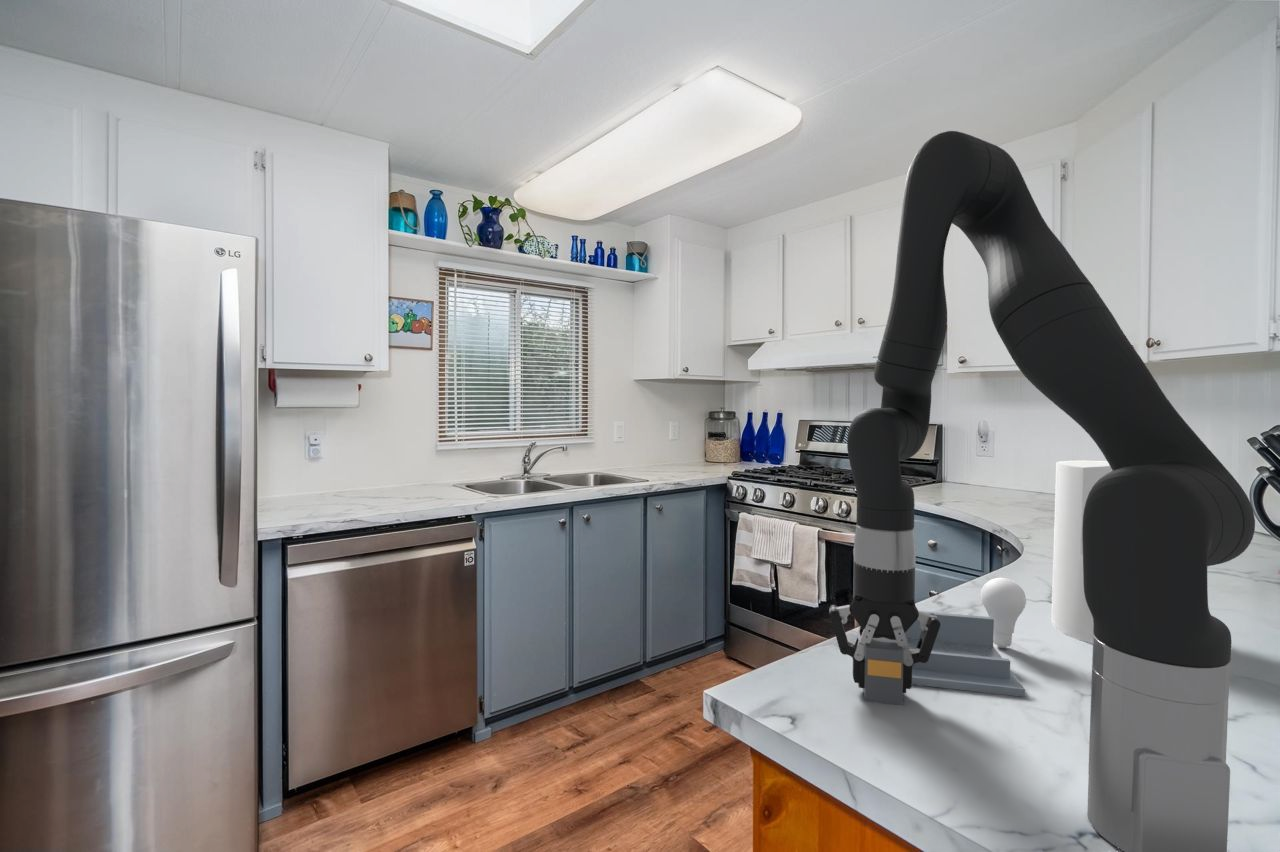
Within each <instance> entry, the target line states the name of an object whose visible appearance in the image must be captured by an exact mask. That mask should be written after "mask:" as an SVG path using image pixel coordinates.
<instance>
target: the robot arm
mask: <svg viewBox="0 0 1280 852" xmlns="http://www.w3.org/2000/svg"><path fill="white" fill-rule="evenodd" d="M906 173H907V174H906V178H905V183H904V188H903V194H902V195H903V196H902V203H901V213H900V226H899V232H898V241H897V252H896V261H895V262H896V263H895V264H896V265H895V273H894V274H895V275H894V280H893V281H894V283H893V287H892V288H893V290H892V296H891V302H890V306H889V307H890V308H889V312H888V317H887V321H886V325H885V328H884V331H883V337H882V340H881V343H880V346H879V347H880V348H879V352H878V354H877V360H876V362H875V367H874V373H873V375H874V380H875V382H876V383H877V384H878V385H879V386H881V387H882V395H881V405H880V407H872V408H867V409H865V410H862V411H860V412H859V413H858V414H856V416H855V417H854V418H853V420H852V421H851V423H850V424H849V425H850V426H849V428H848V432H847V436H846V437H847V440H846V444H847V445H846V449H847V455H848V460H849V461H848V462H849V465H850V471H851V473H852V478H853V484H854V486H855V490H856V495H857V496H856V520H855V521H856V526H855V533H854V541H853V549H852V554H853V583H852V586H853V588H852V597H851V599H850V601H849V603H848V604H846V605H841V606H838V605H836V604H831V605H830V606H829V607H828V608H829V609H828V611H829V616H830V620H831V623H832V627H833V631H834V635H835V639H836V642H837V644H838V649H839V651H840V653H841V654H842V655H845V656H849V657H851V659H852V679H853V681H854V683H855V684H858V688H859V689H863V688H864V670H865V661H864V656H865V645H870V642H871V640H872V638H882V637H884V638H887V639H890V640H896V641H897V644H898V647H899V648H903V651H904V656H903V694H907V689H908V690H911V688H912V685H913V684H912V666H913V665H914V664H915V663H918V662H922V663H926V662H928V660H929V657H930V654H931V651H932V648H933V645H934V643H935V640H936V637H937V634H938V631H939V628H940V625H941V624H940V622H939V620H938V618H937V617H936V615H935V614H933V613H930V614H926V613H923V612H920V610H919V609H918V607H917V606H916V601H915V596H916V552H917V551H916V546H917V545H916V537H915V494H914V489H913V488H912V486H911V485H910V484H908V483H907V482H904V481H903V478H902V471H901V464H900V461H905V460H908V459H911V458H912V457H914V456H915V455H917V453H918V452H919V451H920V450H921V448H922V447H923V445H924V443H925V441H926V439H927V435H928V431H929V426H930V420H931V407H932V406H931V405H932V383H933V380H934V377H935V374H936V370H937V368H938V364H939V361H940V358H941V355H942V350H943V347H944V343H945V339H946V335H947V327H948V305H947V298H946V297H947V295H946V288H945V278H944V277H945V276H944V275H945V274H944V269H945V268H944V264H945V263H944V261H945V259H944V257H945V251H946V244H947V241H948V235H949V234H950V233H949V232H950V229H951V226H952V225H954V226H956V227H957V228H959V230H961V231H962V233H963V234H964V235H965V236H966V237H967V239H968V240H969V241H970V242H971V244H972V246H973V247H974V249H975V250H976V252H977V253H978V254H979V256H980V258H981V260H982V262H983V263H984V266H985V269H986V273H987V281H988V282H987V284H988V286H987V287H988V290H987V291H988V293H987V295H988V296H987V297H988V309H989V315H990V317H991V321H992V324H993V326H994V328H995V330H996V332H997V334H998V336H999V338H1000V339H1001V341H1002V343H1003V345H1004V347H1005V348H1006V350H1007V352H1008V353H1009V355H1010V357H1011V358H1012V360H1013V362H1014V364H1015V365H1016V367H1017V368H1018V369H1019V371H1020V372H1021V373H1022V375H1023V376H1024V378H1026V379H1027V380H1028V381H1029V383H1031V384H1032V386H1034V387H1035V388H1036V389H1037V390H1038V391H1039V392H1040V393H1042V395H1043V396H1045V397H1046V398H1047V399H1048V400H1050V402H1051V403H1053V404H1054V405H1055V406H1057V407H1058V408H1059V409H1060V410H1061V411H1062V412H1064V413H1065V414H1066V415H1067V416H1069V417H1070V418H1071V419H1072V420H1074V421H1075V423H1077V425H1079V426H1080V427H1081V428H1082V429H1083V430H1084V431H1085V432H1086V434H1088V435H1089V437H1090V438H1091V439H1092V441H1094V443H1095V444H1096V445H1097V447H1098V448H1099V450H1100V452H1101V453H1102V454H1103V456H1104V459H1105V461H1107V462H1108V463H1109V465H1110V467H1111V469H1112V470H1113V471H1111V472H1109V473H1107V474H1106V475H1104V476H1103V477H1102V478H1100V479H1099V480H1098V481H1097V482H1096V483H1095V484H1094V486H1093V487H1092V489H1091V491H1090V492H1089V495H1088V497H1087V500H1086V503H1085V508H1084V514H1083V527H1082V542H1083V581H1084V594H1085V599H1086V602H1087V605H1088V607H1089V610H1090V612H1091V614H1092V617H1093V623H1094V627H1093V644H1092V659H1091V660H1092V661H1091V662H1092V664H1091V685H1090V713H1089V714H1090V716H1089V718H1090V719H1089V721H1090V722H1089V747H1088V750H1089V751H1088V770H1087V771H1088V784H1087V786H1088V787H1087V813H1086V814H1087V817H1088V820H1089V823H1090V824H1091V826H1092V827H1093V829H1094V830H1095V831H1096V832H1097V833H1098V834H1099V835H1100V836H1101V837H1102V838H1103V839H1105V840H1107V842H1109V843H1110V844H1111V845H1113V846H1114V847H1116V848H1118V849H1120V850H1121V851H1122V852H1227V851H1228V832H1229V813H1230V811H1229V810H1230V809H1229V807H1230V788H1231V787H1230V785H1231V784H1230V783H1231V767H1230V766H1229V765H1228V763H1227V743H1228V721H1229V720H1228V718H1229V717H1228V715H1229V696H1230V677H1231V673H1230V672H1231V660H1232V634H1231V630H1230V629H1229V627H1228V626H1227V625H1226V623H1224V622H1223V621H1222V620H1221V619H1219V618H1217V617H1216V616H1213V615H1212V614H1211V612H1210V608H1209V598H1208V597H1209V595H1208V591H1209V590H1208V567H1211V566H1216V565H1221V564H1225V563H1227V562H1229V561H1231V560H1234V559H1237V558H1238V557H1239V556H1241V555H1242V554H1243V553H1244V552H1246V550H1247V549H1248V548H1249V546H1250V544H1251V543H1252V540H1253V538H1254V535H1255V530H1256V529H1255V528H1256V519H1255V513H1254V508H1253V505H1252V503H1251V501H1250V498H1249V497H1248V495H1247V493H1246V492H1245V490H1244V489H1243V488H1242V486H1241V485H1240V484H1239V482H1238V481H1237V480H1236V478H1234V476H1233V474H1231V472H1229V470H1228V469H1227V468H1226V467H1225V465H1224V464H1222V462H1221V460H1219V459H1218V457H1216V455H1215V454H1214V453H1213V451H1211V450H1210V449H1209V448H1208V446H1207V445H1206V444H1205V443H1204V442H1203V441H1202V440H1201V438H1200V437H1199V436H1198V435H1197V434H1196V432H1195V431H1194V430H1193V429H1192V428H1191V427H1190V425H1189V424H1188V423H1187V422H1186V421H1185V420H1184V418H1183V417H1182V416H1181V415H1180V414H1179V412H1178V411H1177V410H1176V408H1175V407H1174V406H1173V404H1172V403H1171V401H1169V399H1168V397H1167V396H1166V395H1165V393H1164V391H1163V390H1162V389H1161V387H1160V385H1159V384H1158V383H1157V381H1156V379H1155V378H1154V376H1153V374H1152V372H1150V370H1149V368H1148V367H1147V365H1146V363H1145V362H1144V361H1143V359H1142V358H1141V356H1140V355H1139V353H1138V352H1137V350H1136V349H1135V347H1134V346H1133V345H1132V343H1131V341H1129V339H1128V337H1127V336H1126V335H1125V333H1124V331H1123V329H1122V328H1121V326H1120V325H1119V323H1118V322H1117V319H1116V318H1115V316H1114V315H1113V313H1112V312H1111V311H1110V309H1109V308H1108V306H1107V304H1106V303H1105V301H1104V300H1103V298H1102V297H1101V296H1100V294H1099V292H1098V291H1097V289H1095V287H1094V285H1093V284H1092V283H1091V281H1090V279H1088V278H1087V276H1086V274H1084V272H1083V271H1082V270H1081V268H1080V267H1079V266H1078V264H1077V263H1076V261H1075V260H1074V258H1073V257H1072V255H1071V254H1070V253H1069V251H1068V250H1067V249H1066V247H1065V245H1064V244H1063V243H1062V241H1060V239H1059V238H1058V237H1057V236H1056V234H1055V233H1054V232H1053V231H1052V230H1051V228H1050V227H1049V226H1048V224H1047V222H1046V221H1045V219H1044V218H1043V215H1042V214H1041V212H1040V210H1039V208H1038V206H1037V204H1036V202H1035V201H1034V198H1033V196H1032V194H1031V191H1030V189H1029V188H1028V187H1029V186H1028V185H1027V183H1026V180H1025V178H1024V177H1023V175H1022V173H1021V170H1020V168H1019V167H1018V165H1017V163H1016V162H1015V160H1014V159H1013V157H1012V156H1011V155H1010V154H1009V153H1008V152H1007V151H1006V150H1005V149H1003V148H1002V147H999V146H998V145H995V144H993V143H991V142H988V141H986V140H983V139H980V138H978V137H976V136H973V135H971V134H968V133H965V132H961V131H958V130H947V131H943V132H940V133H938V134H935V135H934V136H932V137H930V138H929V139H928V140H927V141H926V142H924V143H923V145H921V146H920V148H919V149H918V150H917V152H916V154H915V155H914V157H913V158H912V160H911V163H910V165H909V167H908V170H907V172H906ZM850 615H851V616H852V617H853V619H854V620H855V621H856V623H857V624H858V625H859V628H858V631H857V636H856V638H855V641H854V643H853V642H850V641H848V637H847V633H846V631H845V627H844V625H845V624H847V622H848V616H850ZM916 620H919V626H920V628H921V630H922V632H921V635H920V637H919V640H918V643H917V646H916V649H912V650H910V649H909V646H908V643H907V639H906V636H905V632H906V631H907V630H908V629H909V628H910V627H911V626H912V624H913V623H914V622H915V621H916Z"/></svg>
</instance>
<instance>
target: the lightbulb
mask: <svg viewBox="0 0 1280 852" xmlns="http://www.w3.org/2000/svg"><path fill="white" fill-rule="evenodd" d="M980 598H981V603H982V605H983V607H984V608H985V611H986V612H987V614H988V617H992V618H993V619H994V632H993V645H996V646H997V647H998V648H1000V649H1006V648H1008V647H1011V646H1012V639H1013V634H1014V631H1015V626H1016V623H1017V620H1018V618H1019V617H1020V615H1021V614H1022V613H1023V611H1024V610H1025V608H1026V605H1027V597H1026V593H1025V591H1024V589H1023V588H1022V586H1020V585H1019V584H1018V583H1017V582H1016V581H1013V580H1012V579H1009V578H1006V577H996V578H992V579H990V580H988V581H986V583H985V584H984V585H983V586H982V587H981V591H980Z"/></svg>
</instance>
